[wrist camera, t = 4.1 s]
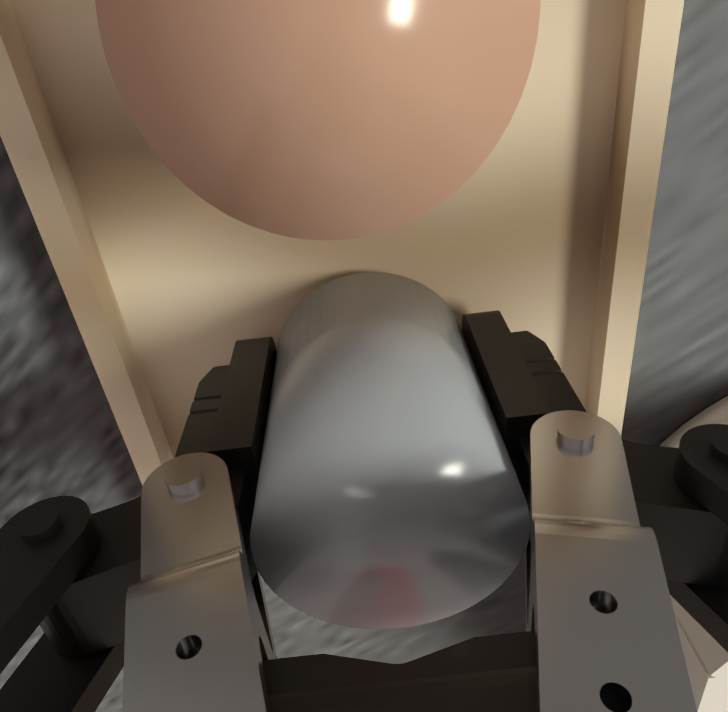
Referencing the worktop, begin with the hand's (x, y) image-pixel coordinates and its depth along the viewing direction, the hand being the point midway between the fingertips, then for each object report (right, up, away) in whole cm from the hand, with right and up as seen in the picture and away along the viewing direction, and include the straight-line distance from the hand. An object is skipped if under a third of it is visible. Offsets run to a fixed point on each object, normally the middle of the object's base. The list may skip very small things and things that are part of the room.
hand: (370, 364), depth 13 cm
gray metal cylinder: (0, 0, 0) cm, 0 cm away
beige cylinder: (-1, +6, -3) cm, 7 cm away
